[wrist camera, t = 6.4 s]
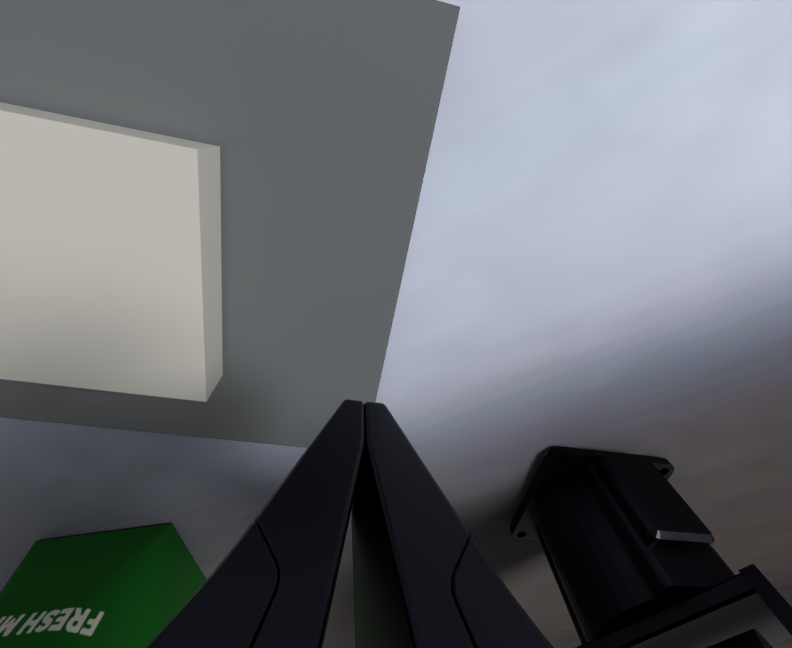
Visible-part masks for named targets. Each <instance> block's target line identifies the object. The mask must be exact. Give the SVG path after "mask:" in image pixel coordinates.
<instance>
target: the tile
mask: <svg viewBox="0 0 792 648" xmlns="http://www.w3.org/2000/svg"><path fill="white" fill-rule="evenodd" d="M222 375H223V359H222V271H221V184H220V146H215V145H210V144H205V143H200V142H195V141H191V140H186V139H181V138H176V137H171V136H166V135H161V134H156V133H151V132H146V131H141V130H136V129H131V128H126V127H121V126H116V125H111V124H106V123H101V122H96V121H91V120H86V119H81V118H77V117H72V116H67V115H62V114H57V113H52V112H47V111H42V110H37V109H32V108H27V107H22V106H17V105H12V104H7V103H2V102H0V379H5V380H14V381H23V382H32V383H41V384H50V385H59V386H68V387H77V388H86V389H95V390H104V391H112V392H121V393H130V394H139V395H148V396H157V397H166V398H175V399H184V400H193V401H202V402H207V400H208V399H209V397H210V395H211V394H212V392H213V390H214V389H215V387H216V385H217V384H218V382H219V380H220V379H221V377H222Z"/></svg>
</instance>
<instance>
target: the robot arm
mask: <svg viewBox="0 0 792 648" xmlns="http://www.w3.org/2000/svg"><path fill="white" fill-rule="evenodd" d="M673 471H674V467H673V466H672V465H671V463H670V462H669V461H668V460H667V459H665V458H658V457H649V456H640V455H631V454H622V453H612V452H603V451H594V450H585V449H576V448H567V447H556V448H553V449H552V450H550V451H549V453H548V454H547V456H546V458H545V460H544V462H543V464H542V466H541V468H540V470H539V472H538V474H537V476H536V478H535V480H534V481H533V483H532V485H531V487H530V489H529V491H528V493H527V495H526V497H525V499H524V501H523V503H522V505H521V507H520V509H519V511H518V513H517V515H516V517H515V519H514V521H513V523H512V525H511V527H510V531H511V534H512V537H513V538H514V539H515V540H521V541H535V542H541V545H542V547H543V550H544V552H545V555H546V557H547V560H548V562H549V565H550V567H551V570H552V572H553V574H554V577H555V579H556V582H557V584H558V587H559V589H560V592H561V594H562V597H563V599H564V601H565V604H566V606H567V609H568V611H569V614H570V616H571V619H572V621H573V624H574V626H575V629H576V631H577V633H578V636H579V638H580V641H581V643H582V645H580V646H578V647H576V648H773V647H772V646H773V645H775V644H778V643H781V642H783V641H786V640H788V639H791V638H792V607H791V606H790V605H789V604H788V603H787V601H786V600H785V599H784V598H783V597H782V596H781V595H780V594H779V592H778V591H777V590H776V589H775V588H774V587H773V586H772V584H771V583H770V582H769V581H768V580H767V579H766V578H765V576H764V575H763V574H762V573H761V572H760V571H759V570H758V569H757V567H756V566H755V565H754V564H751V565H749V566H747V567H744V568H742V569H740V570H738V571H739V572H740V574H737V575H735V574H734V573H733V572H732V571H731V569H730V568H729V567H728V566H727V565H726V563H725V562H724V561H723V560H722V558H721V557H720V556H719V555H718V553H717V552H716V551H715V550H714V549H713V547H712V546H711V545H712V544H713V543H714V538H713V536H712V534H711V532H710V531H709V530H708V529H707V527H706V526H705V525H704V524H703V523H702V521H701V520H700V519H699V518H698V517H697V515H696V514H695V513H694V512H693V511H692V509H691V508H690V507H689V506H688V505H687V503H686V502H685V501H684V500H683V499H682V497H681V496H680V495H679V494H678V493H677V491H676V490H675V489H674V488H673V487H672V485H671V484H670V483H669V482H668V481H667V480H668V478H669V477H670V476H671V474H672V473H673ZM351 509H352V551H353V583H354V615H355V647H356V648H553V647H552V645H551V644H550V643H549V642H548V640H547V639H546V638H545V637H544V635H543V634H542V633H541V632H540V630H539V629H538V628H537V627H536V625H535V624H534V623H533V621H532V620H531V619H530V617H529V616H528V615H527V613H526V612H525V611H524V610H523V608H522V607H521V606H520V604H519V603H518V602H517V600H516V599H515V598H514V596H513V595H512V594H511V593H510V591H509V590H508V589H507V587H506V586H505V584H504V583H503V581H502V580H501V578H500V577H499V576H498V574H497V573H496V571H495V570H494V568H493V567H492V566H491V564H490V563H489V561H488V560H487V558H486V557H485V555H484V554H483V552H482V551H481V549H480V548H479V546H478V545H477V543H476V542H475V540H474V539H473V538H470V533H469V531H468V530H467V528H466V527H465V525H464V524H463V522H462V521H461V519H460V518H459V516H458V515H457V513H456V512H455V510H454V509H453V507H452V506H451V504H450V503H449V501H448V499H447V498H446V496H445V495H444V493H443V492H442V490H441V489H440V487H439V486H438V484H437V483H436V481H435V480H434V478H433V477H432V475H431V474H430V472H429V471H428V469H427V468H426V466H425V465H424V463H423V462H422V460H421V459H420V457H419V455H418V454H417V452H416V451H415V449H414V448H413V446H412V445H411V443H410V442H409V440H408V439H407V437H406V436H405V434H404V433H403V431H402V430H401V428H400V427H399V425H398V424H397V422H396V421H395V419H394V418H393V416H392V415H391V413H390V411H389V410H388V408H387V407H386V406H385V405H384V404H383V403H375V402H366V403H365V404H364V403H363V402H362V401H358V400H350V399H346V400H344V401H343V402H342V403H341V405H340V406H339V407H338V409H337V410H336V411H335V413H334V414H333V415H332V417H331V418H330V419H329V421H328V422H327V423H326V425H325V426H324V427H323V429H322V430H321V431H320V433H319V434H318V435H317V437H316V438H315V439H314V441H313V442H312V443H311V445H310V446H309V447H308V449H307V450H306V451H305V453H304V454H303V455H302V457H301V458H300V459H299V461H298V462H297V463H296V465H295V466H294V467H293V469H292V470H291V471H290V473H289V474H288V475H287V477H286V478H285V479H284V481H283V482H282V483H281V485H280V486H279V487H278V489H277V490H276V491H275V493H274V494H273V495H272V497H271V498H270V499H269V501H268V502H267V503H266V505H265V506H264V507H263V509H262V510H261V511H260V513H259V514H258V515H257V517H256V518H255V521H254V522H253V523H251V524H250V526H249V527H248V528H247V530H246V531H245V532H244V534H243V535H242V536H241V538H240V539H239V540H238V542H237V543H236V544H235V546H234V547H233V548H232V549H231V551H230V552H229V553H228V554H227V556H226V557H225V558H224V559H223V561H222V562H221V563H220V564H219V566H218V567H217V568H216V569H215V571H214V572H213V573H212V574H211V576H210V577H209V578H208V579H207V580H206V581H205V582H204V583H203V585H202V586H201V587H200V588H199V589H198V590H197V591H196V592H195V594H194V595H193V596H192V597H191V598H190V599H189V600H188V601H187V603H186V604H185V605H184V606H183V607H182V608H181V609H180V611H179V612H178V613H177V614H176V615H175V616H174V617H173V618H172V619H171V620H170V621H169V622H168V623H167V625H166V626H165V627H164V628H163V629H162V630H161V631H160V632H159V633H158V634H157V635H156V636H155V637H154V639H153V640H152V641H151V642H150V643H149V644H148V645H147V646H146V647H145V648H322V647H323V642H324V637H325V633H326V628H327V623H328V618H329V614H330V609H331V604H332V600H333V595H334V590H335V585H336V581H337V576H338V571H339V566H340V562H341V557H342V552H343V547H344V543H345V538H346V533H347V528H348V524H349V519H350V514H351ZM469 538H470V539H469Z"/></svg>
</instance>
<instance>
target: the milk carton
mask: <svg viewBox="0 0 792 648" xmlns="http://www.w3.org/2000/svg"><path fill="white" fill-rule="evenodd" d="M205 581H206V579H205V577H204V576H203V574H202V572H201V571H200V569H199V567H198V566H197V564H196V563H195V561H194V559H193V558H192V556H191V554H190V553H189V551H188V550H187V548H186V546H185V545H184V543H183V541H182V540H181V538H180V537H179V535H178V533H177V532H176V530H175V529H174V527H173V525H172V524H171V523H170V524H163V525H155V526H148V527H140V528H132V529H124V530H117V531H109V532H101V533H93V534H85V535H78V536H70V537H62V538H54V539H47V540H38V541H36V542H35V543H34V545H33V546H32V548H31V549H30V550H29V552H28V553H27V555H26V556H25V558H24V559H23V560H22V562H21V563H20V565H19V566H18V568H17V569H16V571H15V572H14V573H13V575H12V576H11V578H10V579H9V581H8V582H7V583H6V585H5V586H4V588H3V589H2V591H1V592H0V648H145V647H146V646H147V645H148V644H149V643H150V642H151V641H152V640H153V639H154V637H155V636H156V635H157V634H158V633H159V632H160V631H161V630H162V629H163V628H164V627H165V626H166V625H167V623H168V622H169V621H170V620H171V619H172V618H173V617H174V616H175V615H176V614H177V613H178V612H179V611H180V609H181V608H182V607H183V606H184V605H185V604H186V603H187V601H188V600H189V599H190V598H191V597H192V596H193V595H194V594H195V592H196V591H197V590H198V589H199V588H200V587H201V586H202V585H203V583H204V582H205Z"/></svg>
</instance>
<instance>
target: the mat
mask: <svg viewBox="0 0 792 648" xmlns="http://www.w3.org/2000/svg"><path fill="white" fill-rule="evenodd" d="M459 10H460V7H459V6H455V5H451V4H448V3H444V2H440V1H437V0H0V102H2V103H7V104H12V105H17V106H22V107H27V108H32V109H37V110H42V111H47V112H52V113H57V114H62V115H67V116H72V117H77V118H81V119H86V120H91V121H96V122H101V123H106V124H111V125H116V126H121V127H126V128H131V129H136V130H141V131H146V132H151V133H156V134H161V135H166V136H171V137H176V138H181V139H186V140H191V141H195V142H200V143H205V144H210V145H215V146H220V184H221V271H222V359H223V375H222V377H221V379H220V380H219V382H218V384H217V385H216V387H215V389H214V390H213V392H212V394H211V395H210V397H209V399H208V400H207V402H202V401H193V400H184V399H175V398H166V397H157V396H148V395H139V394H130V393H121V392H112V391H104V390H95V389H86V388H77V387H68V386H59V385H50V384H41V383H32V382H23V381H14V380H5V379H0V417H4V418H14V419H24V420H34V421H45V422H55V423H65V424H75V425H85V426H95V427H105V428H115V429H125V430H135V431H145V432H155V433H165V434H175V435H186V436H196V437H206V438H216V439H226V440H236V441H246V442H256V443H266V444H276V445H286V446H296V447H306V448H308V447H309V446H310V445H311V443H312V442H313V441H314V439H315V438H316V437H317V435H318V434H319V433H320V431H321V430H322V429H323V427H324V426H325V425H326V423H327V422H328V421H329V419H330V418H331V417H332V415H333V414H334V413H335V411H336V410H337V409H338V407H339V406H340V405H341V403H342V402H343V401H344V400H346V399H350V400H358V401H362V402H363V403H364V404H365V403H366V402H375V401H376V396H377V391H378V387H379V382H380V377H381V373H382V368H383V363H384V359H385V354H386V349H387V345H388V340H389V335H390V331H391V326H392V322H393V317H394V312H395V308H396V303H397V298H398V294H399V289H400V284H401V280H402V275H403V270H404V266H405V261H406V256H407V252H408V247H409V242H410V238H411V233H412V228H413V224H414V219H415V215H416V210H417V205H418V201H419V196H420V191H421V187H422V182H423V177H424V173H425V168H426V163H427V159H428V154H429V149H430V145H431V140H432V135H433V131H434V126H435V121H436V117H437V112H438V108H439V103H440V98H441V94H442V89H443V84H444V80H445V75H446V70H447V66H448V61H449V56H450V52H451V47H452V42H453V38H454V33H455V28H456V24H457V19H458V14H459Z"/></svg>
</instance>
